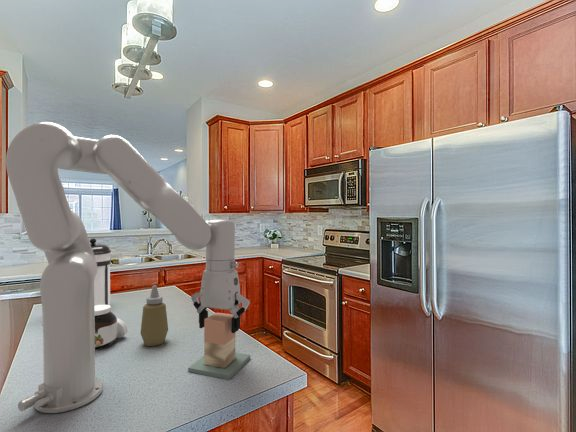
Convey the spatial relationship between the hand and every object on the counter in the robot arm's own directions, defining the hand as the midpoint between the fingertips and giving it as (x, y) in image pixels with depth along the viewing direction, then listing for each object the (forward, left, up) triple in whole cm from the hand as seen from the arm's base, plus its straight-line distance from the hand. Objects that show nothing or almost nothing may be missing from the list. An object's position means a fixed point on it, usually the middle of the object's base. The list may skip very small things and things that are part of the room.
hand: (219, 328), depth 87 cm
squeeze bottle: (+6, +27, -10) cm, 29 cm away
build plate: (0, 0, -10) cm, 10 cm away
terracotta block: (0, 0, -3) cm, 3 cm away
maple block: (0, 0, -9) cm, 9 cm away
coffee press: (+22, +73, -10) cm, 77 cm away
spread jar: (+1, +42, -10) cm, 43 cm away
